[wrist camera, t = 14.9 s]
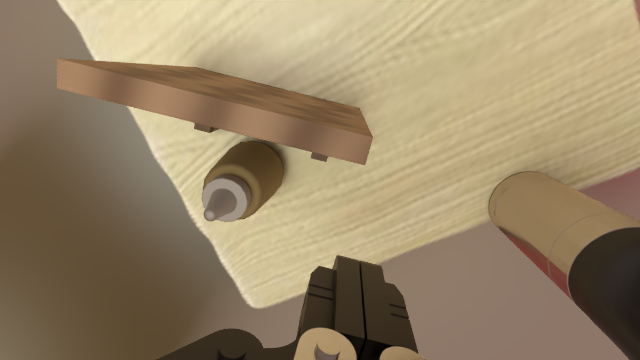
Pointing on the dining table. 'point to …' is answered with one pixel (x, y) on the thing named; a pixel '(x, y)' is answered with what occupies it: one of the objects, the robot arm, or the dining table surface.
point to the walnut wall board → (225, 105)
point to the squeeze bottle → (241, 182)
